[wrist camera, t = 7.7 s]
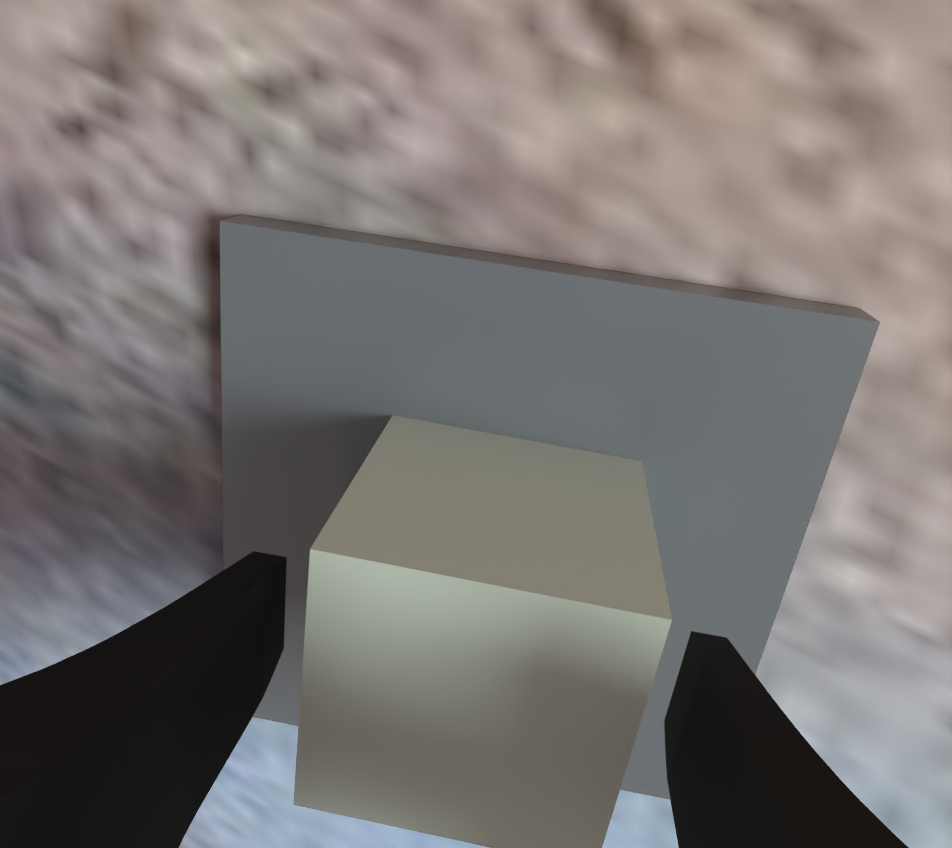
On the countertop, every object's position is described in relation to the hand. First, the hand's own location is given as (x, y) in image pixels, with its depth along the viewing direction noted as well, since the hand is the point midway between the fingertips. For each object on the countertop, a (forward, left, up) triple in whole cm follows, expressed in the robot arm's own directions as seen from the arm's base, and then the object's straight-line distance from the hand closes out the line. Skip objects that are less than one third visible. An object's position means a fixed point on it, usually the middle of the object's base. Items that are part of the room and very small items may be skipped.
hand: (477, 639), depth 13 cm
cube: (0, 0, -3) cm, 3 cm away
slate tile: (0, 0, -4) cm, 4 cm away
